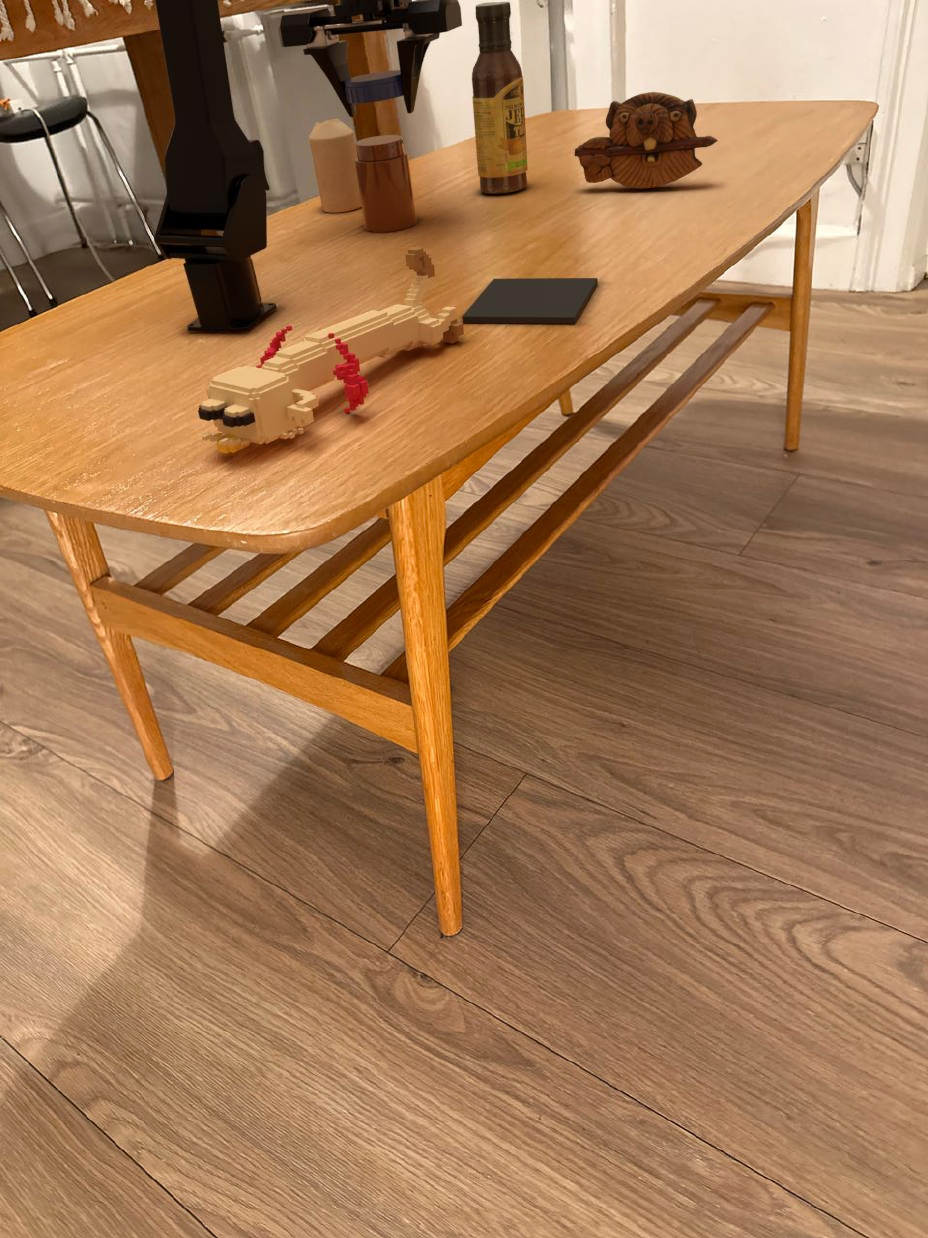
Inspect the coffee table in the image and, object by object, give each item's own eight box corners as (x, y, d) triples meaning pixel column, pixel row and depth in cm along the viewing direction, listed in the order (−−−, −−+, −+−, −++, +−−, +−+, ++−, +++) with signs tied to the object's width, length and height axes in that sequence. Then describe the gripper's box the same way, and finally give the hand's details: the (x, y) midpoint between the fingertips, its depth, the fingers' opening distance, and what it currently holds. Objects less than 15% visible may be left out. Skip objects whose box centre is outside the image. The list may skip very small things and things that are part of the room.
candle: (357, 211, 115) (343, 123, 109) (316, 214, 117) (300, 126, 111) (369, 200, 120) (356, 114, 114) (330, 202, 121) (314, 117, 115)
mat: (574, 324, 77) (574, 317, 77) (462, 323, 80) (461, 316, 80) (597, 284, 84) (597, 277, 84) (494, 284, 87) (493, 278, 87)
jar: (407, 231, 106) (395, 144, 100) (357, 233, 107) (343, 147, 102) (423, 216, 110) (413, 132, 105) (375, 218, 112) (363, 135, 106)
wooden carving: (573, 197, 110) (570, 103, 104) (578, 187, 113) (576, 95, 107) (714, 190, 106) (720, 91, 100) (715, 180, 109) (721, 84, 103)
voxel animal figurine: (393, 343, 81) (168, 441, 65) (383, 238, 76) (137, 316, 60) (485, 359, 76) (266, 470, 60) (480, 248, 71) (240, 336, 55)
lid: (369, 92, 103) (366, 72, 102) (421, 88, 100) (418, 67, 99) (335, 105, 99) (331, 84, 98) (388, 101, 96) (384, 79, 95)
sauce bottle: (518, 196, 113) (506, 3, 101) (472, 196, 115) (455, 8, 103) (536, 182, 118) (526, -3, 106) (491, 183, 120) (476, 1, 108)
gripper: (469, -76, 94) (483, 95, 104) (307, -56, 100) (334, 106, 109) (435, -71, 86) (453, 114, 96) (260, -49, 92) (294, 124, 101)
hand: (381, 114), depth 101 cm, fingers closed on lid, 6 cm apart
